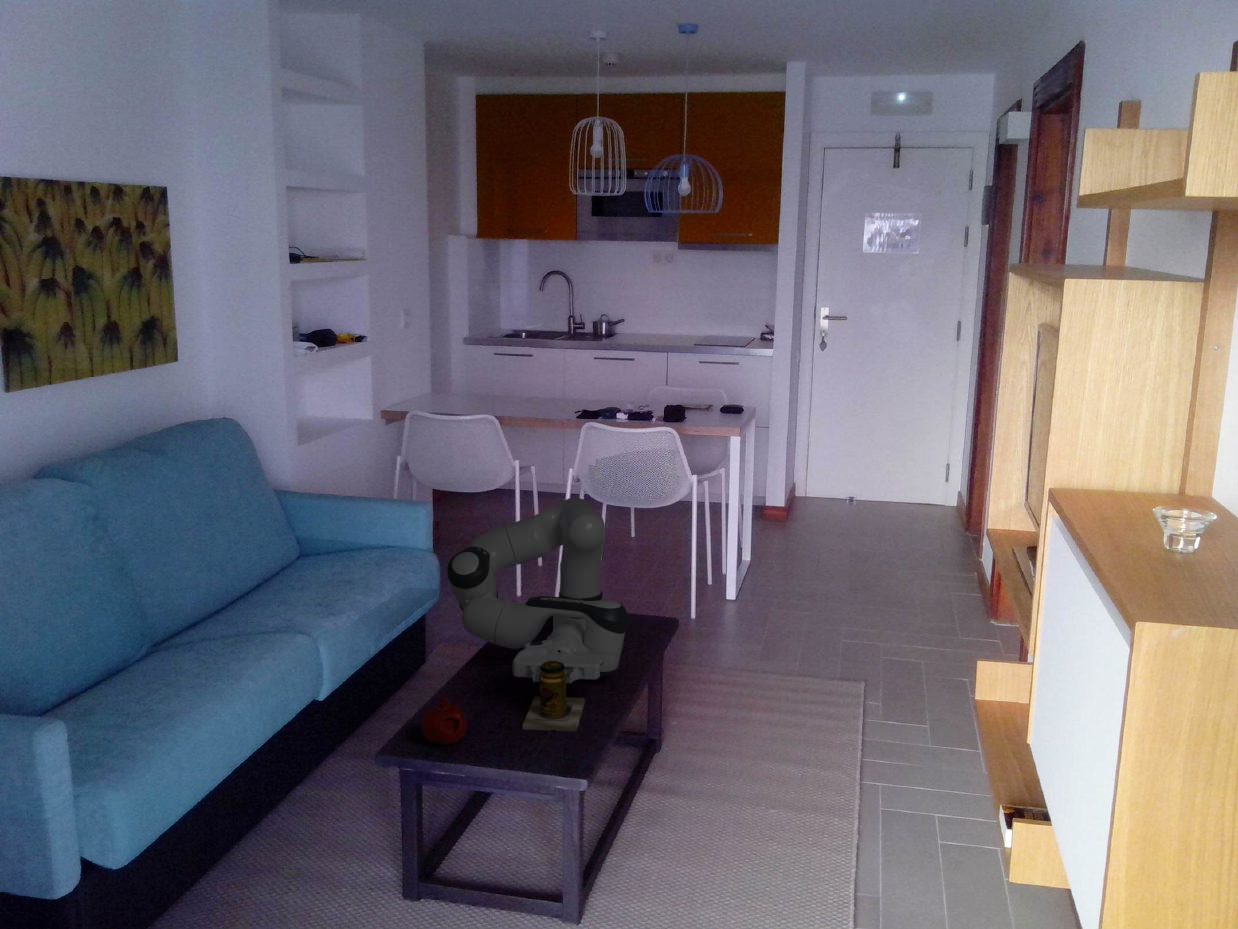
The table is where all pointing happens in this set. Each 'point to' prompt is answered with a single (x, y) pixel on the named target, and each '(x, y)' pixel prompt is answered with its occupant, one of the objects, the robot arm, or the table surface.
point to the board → (559, 725)
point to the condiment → (553, 692)
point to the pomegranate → (444, 723)
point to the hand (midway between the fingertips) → (552, 679)
